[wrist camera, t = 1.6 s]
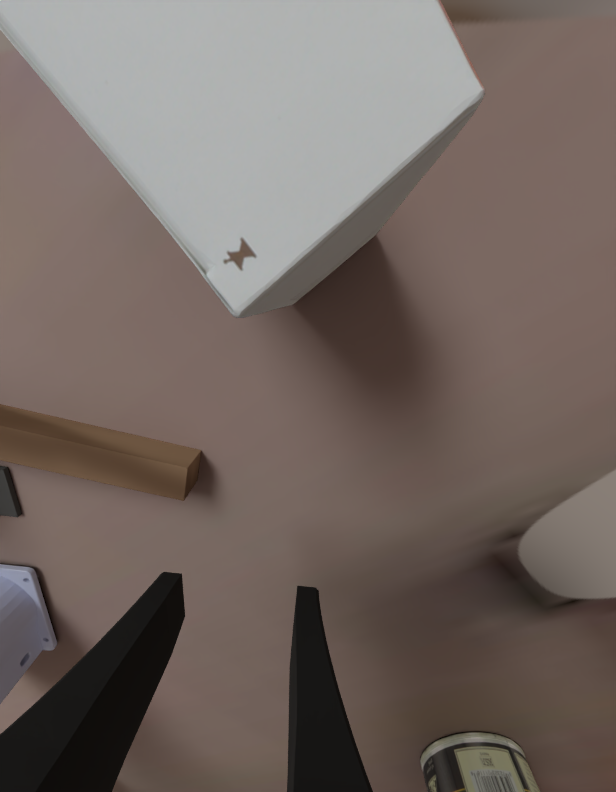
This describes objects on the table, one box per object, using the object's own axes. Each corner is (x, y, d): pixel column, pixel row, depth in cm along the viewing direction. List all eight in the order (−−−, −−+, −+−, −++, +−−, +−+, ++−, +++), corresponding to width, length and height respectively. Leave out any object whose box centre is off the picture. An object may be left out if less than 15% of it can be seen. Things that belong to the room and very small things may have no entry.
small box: (378, 234, 14) (505, 101, 4) (290, 307, 16) (238, 330, 6) (273, 71, 12) (89, -798, 3) (184, 169, 14) (-165, -150, 4)
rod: (199, 477, 20) (183, 500, 18) (-68, 417, 19) (-120, 433, 17) (203, 447, 19) (187, 468, 17) (-75, 383, 19) (-131, 396, 16)
